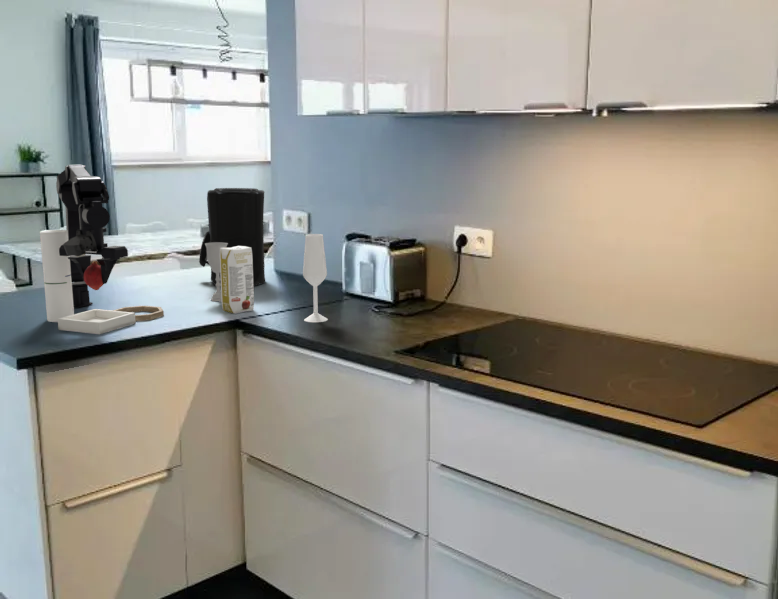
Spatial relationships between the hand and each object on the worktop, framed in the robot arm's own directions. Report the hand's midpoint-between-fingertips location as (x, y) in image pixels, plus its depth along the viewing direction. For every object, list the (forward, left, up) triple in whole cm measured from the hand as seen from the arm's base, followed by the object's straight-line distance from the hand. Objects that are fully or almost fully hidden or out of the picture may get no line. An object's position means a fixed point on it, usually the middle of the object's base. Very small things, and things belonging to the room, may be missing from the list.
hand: (95, 282), depth 215 cm
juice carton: (+24, +32, -12) cm, 42 cm away
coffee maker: (-5, +72, -12) cm, 73 cm away
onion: (0, 0, -2) cm, 2 cm away
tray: (0, 0, -12) cm, 12 cm away
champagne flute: (+51, +30, -12) cm, 60 cm away
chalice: (+9, +44, -12) cm, 46 cm away
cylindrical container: (-16, +3, -12) cm, 21 cm away
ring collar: (+1, +15, -12) cm, 19 cm away
